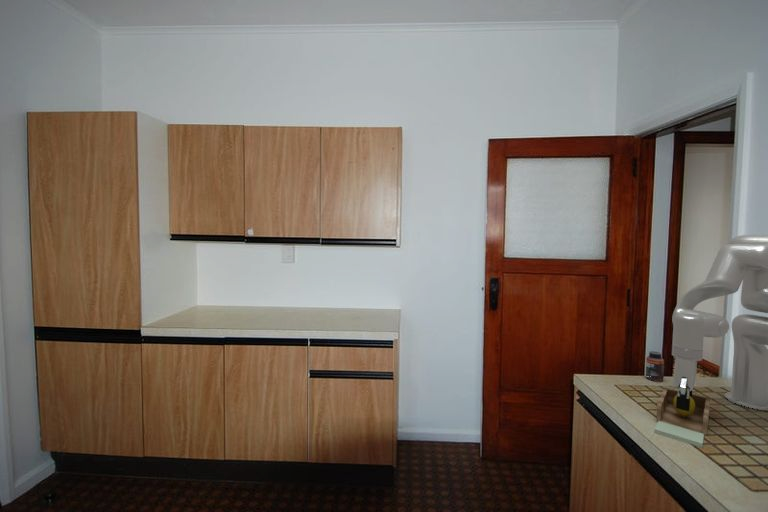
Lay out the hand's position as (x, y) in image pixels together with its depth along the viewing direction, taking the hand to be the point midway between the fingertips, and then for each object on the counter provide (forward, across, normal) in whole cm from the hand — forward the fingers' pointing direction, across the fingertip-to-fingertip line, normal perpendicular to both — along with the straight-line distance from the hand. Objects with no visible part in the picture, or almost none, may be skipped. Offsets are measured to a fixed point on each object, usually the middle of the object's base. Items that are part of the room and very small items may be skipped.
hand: (684, 404), depth 117 cm
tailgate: (+4, +10, 0) cm, 11 cm away
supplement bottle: (+5, -34, -12) cm, 36 cm away
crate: (+5, 0, 0) cm, 5 cm away
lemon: (+4, 0, 0) cm, 5 cm away
